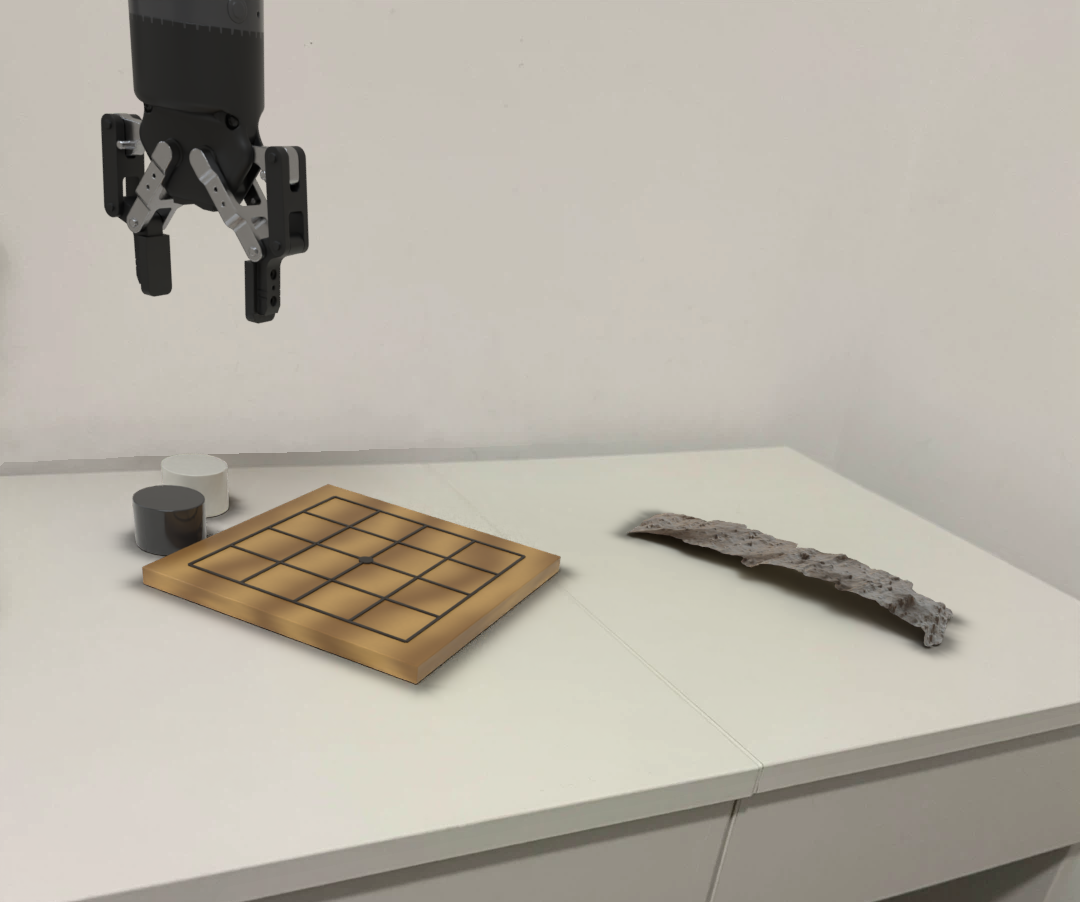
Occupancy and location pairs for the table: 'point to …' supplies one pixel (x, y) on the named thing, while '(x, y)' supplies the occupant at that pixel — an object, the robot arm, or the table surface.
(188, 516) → the black stone
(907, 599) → the stone fragment
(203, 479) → the pale stone
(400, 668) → the board
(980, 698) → the table surface
